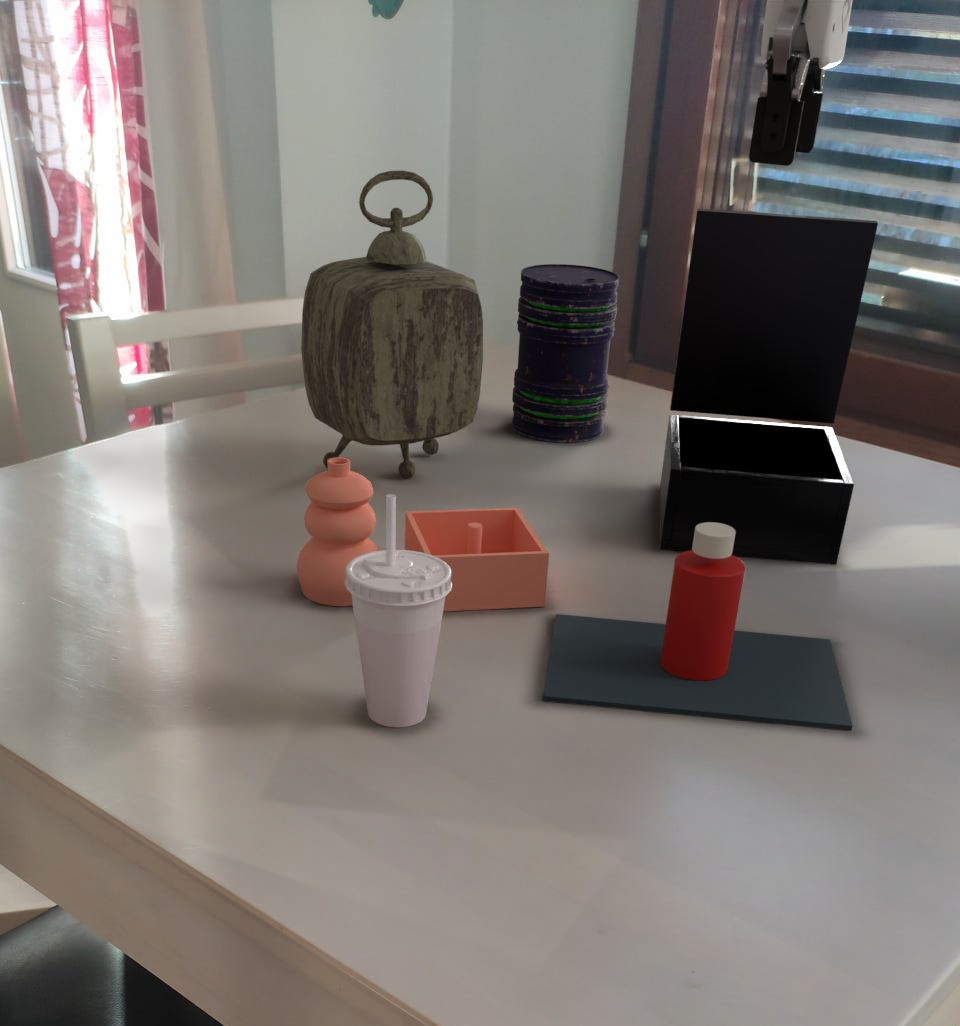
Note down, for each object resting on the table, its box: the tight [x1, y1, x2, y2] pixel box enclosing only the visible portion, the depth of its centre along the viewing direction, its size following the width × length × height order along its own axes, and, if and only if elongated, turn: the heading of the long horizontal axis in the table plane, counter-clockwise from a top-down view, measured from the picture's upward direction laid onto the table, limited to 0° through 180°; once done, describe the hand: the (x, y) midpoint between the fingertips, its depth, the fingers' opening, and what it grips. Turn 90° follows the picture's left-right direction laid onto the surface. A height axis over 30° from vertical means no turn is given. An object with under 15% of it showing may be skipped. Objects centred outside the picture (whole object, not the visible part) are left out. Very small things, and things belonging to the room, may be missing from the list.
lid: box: [669, 208, 879, 425], centre depth 108 cm, size 16×15×1 cm
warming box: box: [659, 413, 855, 565], centre depth 109 cm, size 16×15×7 cm
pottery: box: [296, 456, 550, 612], centre depth 94 cm, size 18×10×10 cm, turn 102°
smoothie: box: [345, 493, 452, 728], centre depth 76 cm, size 6×6×14 cm
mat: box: [541, 613, 853, 732], centre depth 87 cm, size 20×13×1 cm, turn 83°
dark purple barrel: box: [511, 263, 620, 443], centre depth 128 cm, size 10×10×15 cm
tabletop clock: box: [300, 169, 484, 480], centre depth 111 cm, size 14×9×25 cm, turn 122°
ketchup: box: [660, 522, 746, 681], centre depth 84 cm, size 5×5×10 cm
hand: (781, 157), depth 95 cm, fingers open, 9 cm apart
